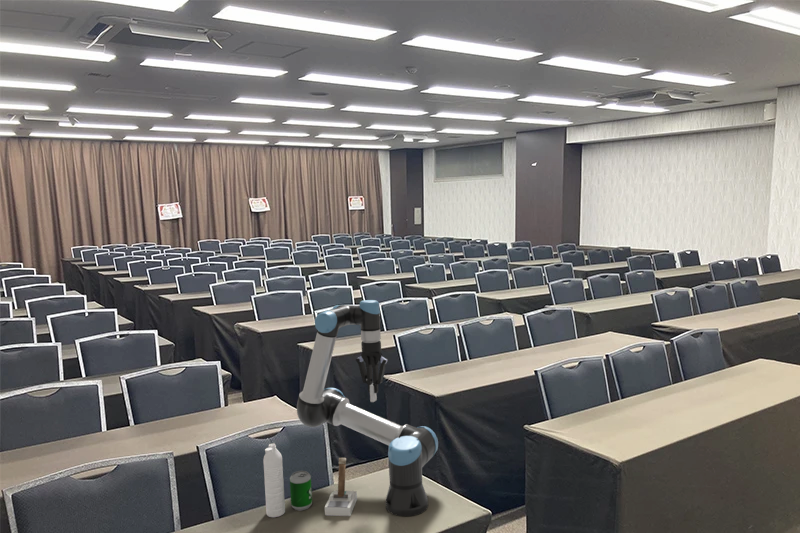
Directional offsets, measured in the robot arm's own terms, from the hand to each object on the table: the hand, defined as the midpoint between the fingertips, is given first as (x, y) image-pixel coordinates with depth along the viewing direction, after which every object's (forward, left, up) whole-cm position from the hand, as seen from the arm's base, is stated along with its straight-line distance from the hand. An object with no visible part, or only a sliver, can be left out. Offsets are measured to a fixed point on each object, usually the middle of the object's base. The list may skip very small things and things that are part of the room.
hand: (373, 400), depth 220 cm
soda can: (+18, +26, -33) cm, 45 cm away
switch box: (+4, +22, -32) cm, 39 cm away
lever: (+4, +22, -28) cm, 36 cm away
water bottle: (+24, +34, -33) cm, 53 cm away
